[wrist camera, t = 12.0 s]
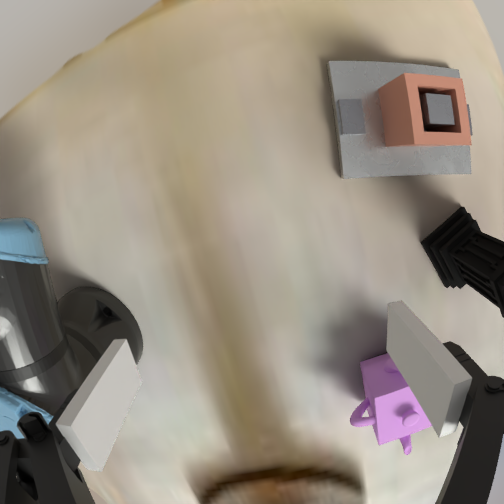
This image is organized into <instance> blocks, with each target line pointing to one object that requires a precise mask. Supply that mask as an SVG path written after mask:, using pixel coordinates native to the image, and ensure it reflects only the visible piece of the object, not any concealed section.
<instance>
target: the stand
mask: <svg viewBox="0 0 504 504" xmlns="http://www.w3.org/2000/svg"><path fill="white" fill-rule="evenodd" d="M327 70H328V77H329V83H330V89H331V96H332V103H333V111H334V118H335V126H336V134H337V143H338V153H339V162H340V173H341V178H342V179H349V178H365V177H383V176H405V175H436V174H471V158H470V145H459V146H400V147H386V144H385V135H384V127H383V119H382V111H381V105H380V98H379V92H378V89H379V88H380V87H382V86H384V85H385V84H387V83H388V82H390V81H392V80H393V79H395V78H396V77H398V76H400V75H401V74H403V73H414V74H426V75H436V76H445V77H453V78H460V74H459V70H457V69H451V68H444V67H436V66H428V65H418V64H408V63H394V62H375V61H328V63H327ZM419 99H420V105H421V112H422V120H423V128H424V132H427V131H426V129H429V128H435V127H442V126H449V125H455V124H454V116H453V108H452V101H451V95H441V94H429V93H425V94H423V95H420V96H419ZM467 111H468V118H469V126H470V135H472V126H471V118H470V111H469V105H468V104H467Z"/></svg>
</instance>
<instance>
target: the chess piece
mask: <svg viewBox="0 0 504 504" xmlns="http://www.w3.org/2000/svg"><path fill="white" fill-rule="evenodd" d="M421 244H422V246H423V247H424V249H425V251H426V253H427V254H428V256H429V258H430V260H431V262H432V263H433V265H434V267H435V269H436V271H437V273H438V275H439V276H440V278H441V280H442V282H443V284H444V286H445V287H446V288H448V287H449V286H451V287H452V288H453V289H454V288H455V287H456V286H457V287H458V288H460V289H461V288H462V287H463V286H464V285H465V284H468V285H469V286H470V287H472V288H473V289H475V290H476V291H477V292H479V293H480V294H481V295H483V296H484V297H485V298H487V299H488V300H489V301H491V302H492V303H493V304H495V305H496V306H497V307H499V308H500V311H501V314H502V317H503V318H504V242H503V241H501V240H499V239H496V238H494V237H492V236H489V235H487V234H485V233H482V232H481V230H480V228H479V226H478V224H477V221H476V220H474V219H472V216H471V214H470V213H467V211H466V209H465V207H460V208H459V209H458V210H457V211H456V212H455V213H454V214H453V215H452V216H451V217H449V218H448V219H447V220H446V221H445V222H444V223H443V224H442V225H440V226H439V227H438V228H437V229H436V230H435V231H434V232H432V233H431V234H430V235H429V236H428V237H427V238H425V239H424V240H423V241H422V242H421Z"/></svg>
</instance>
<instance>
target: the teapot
mask: <svg viewBox="0 0 504 504" xmlns="http://www.w3.org/2000/svg"><path fill="white" fill-rule="evenodd" d="M360 366H361V372H362V379H363V385H364V391H365V398H366V399H365V400H364V401H363V402H362V403H361V404H360V405H359V406H358V407H357V408H356V409H355V411H354V412H353V413H352V415H351V418H350V423H351V425H353V426H355V427H362V426H368V425H372V426H373V429H374V432H375V435H376V438H377V441H378V444H379V445H381V444H384V443H387V442H390V441H393V440H396V439H400V441H401V443H402V446H403V449H404V453H405V454H406V455H408V454H410V452H411V450H412V446H411V437H410V434H413V433H415V432H418V431H420V430H423V429H425V428H428V427H430V426H432V424H431V423H430V421H429V419H428V418H427V416H426V414H425V412H424V411H423V409H422V407H421V406H420V404H419V402H418V401H417V399H416V397H415V396H414V394H413V392H412V391H411V389H410V387H409V386H408V384H407V382H406V381H405V379H404V378H403V376H402V374H401V373H400V371H399V370H398V368H397V366H396V365H395V363H394V362H393V360H392V358H391V357H390V355H389V354H388V353H386V354H383V355H380V356H377V357H374V358H371V359H368V360H365V361H361V362H360ZM366 409H367V411H368V414H369V417H362V415H363V413H364V412H365V410H366Z"/></svg>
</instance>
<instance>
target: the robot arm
mask: <svg viewBox="0 0 504 504" xmlns="http://www.w3.org/2000/svg"><path fill="white" fill-rule="evenodd" d="M48 263H49V262H48V258H47V257H46V255H45V251H44V247H43V243H42V238H41V234H40V230H39V228H38V226H37V225H36V223H35V222H34V221H32V220H30V219H28V218H7V219H0V504H95V502H94V500H93V498H92V496H91V493H90V491H89V489H88V487H87V484H86V482H85V480H84V477H83V475H82V472H81V471H80V469H79V468H78V465H79V463H80V461H81V462H82V463H83V465H84V466H85V467H86V469H87V470H93V471H99V472H102V470H103V468H104V466H105V463H106V461H107V459H108V456H109V454H110V452H111V450H112V447H113V445H114V443H115V440H116V438H117V436H118V434H119V432H120V429H121V427H122V425H123V423H124V420H125V418H126V416H127V414H128V412H129V409H130V407H131V405H132V403H133V401H134V399H135V396H136V394H137V392H138V390H139V388H140V386H141V384H142V382H143V381H142V378H141V376H140V373H139V371H138V368H137V366H136V365H137V363H138V362H139V360H140V358H141V355H142V351H143V340H142V335H141V331H140V329H139V326H138V324H137V322H136V320H135V318H134V317H133V315H132V314H131V312H130V311H129V310H128V309H127V308H126V307H125V306H124V305H123V304H122V303H121V302H120V301H119V300H118V299H117V298H115V297H114V296H112V295H111V294H109V293H107V292H105V291H103V290H100V289H97V288H93V287H80V288H76V289H74V290H72V291H70V292H69V293H67V294H66V295H65V296H63V297H62V298H61V299H60V300H59V301H58V302H57V301H56V297H55V293H54V290H53V286H52V282H51V277H50V273H49V268H48ZM386 350H387V352H388V354H389V355H390V357H391V358H392V360H393V362H394V363H395V365H396V366H397V368H398V370H399V371H400V373H401V374H402V376H403V378H404V379H405V381H406V382H407V384H408V386H409V387H410V389H411V391H412V392H413V394H414V396H415V397H416V399H417V401H418V402H419V404H420V406H421V407H422V409H423V411H424V412H425V414H426V416H427V418H428V419H429V421H430V423H431V424H432V426H433V428H434V430H435V431H436V433H437V435H438V437H439V438H440V437H443V436H445V435H448V434H450V433H453V432H455V431H456V429H457V426H458V423H459V421H460V423H461V424H462V426H463V427H464V428H463V431H462V433H461V436H460V438H459V441H458V444H457V445H458V446H457V449H456V452H455V455H454V458H453V461H452V464H451V466H450V469H449V472H448V474H447V477H446V479H445V482H444V484H443V487H442V489H441V492H440V494H439V496H438V499H437V501H436V503H435V504H487V500H488V497H489V493H490V490H491V486H492V483H493V479H494V475H495V471H496V467H497V462H498V458H499V453H500V449H501V443H502V438H503V434H504V379H502V378H500V377H497V376H487V374H486V373H485V372H484V371H483V370H482V369H481V368H480V367H479V366H478V365H477V364H476V363H475V362H474V360H473V359H471V357H470V356H469V355H468V354H466V352H465V351H464V350H463V349H462V348H461V347H460V346H459V345H457V344H455V343H453V342H451V341H450V342H447V343H443V344H442V343H441V342H440V341H439V340H438V339H437V337H436V336H435V335H434V334H433V333H432V332H431V331H430V330H429V329H428V328H427V327H426V326H425V324H424V323H423V322H422V321H421V320H420V319H419V318H418V317H417V316H416V315H415V314H414V313H413V312H412V311H411V310H410V309H409V308H408V307H407V306H406V304H405V303H404V302H403V301H397V302H393V303H388V322H387V346H386ZM16 476H17V478H16Z"/></svg>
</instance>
